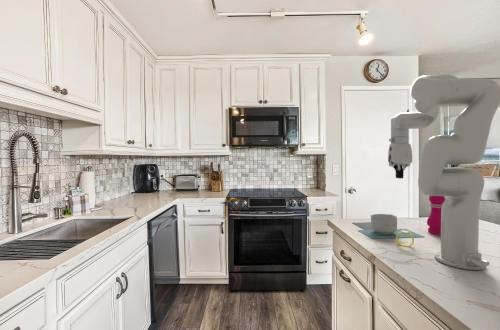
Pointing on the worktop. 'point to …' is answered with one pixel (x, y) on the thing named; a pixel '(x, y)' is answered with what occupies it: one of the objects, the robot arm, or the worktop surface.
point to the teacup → (384, 223)
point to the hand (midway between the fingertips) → (399, 178)
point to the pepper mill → (435, 214)
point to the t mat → (374, 235)
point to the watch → (404, 233)
